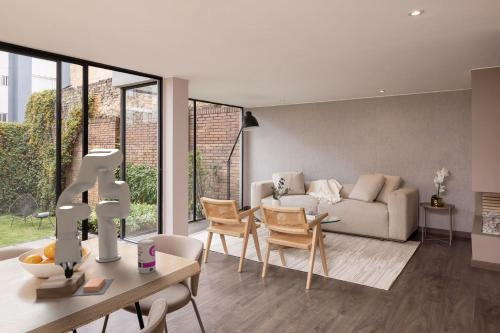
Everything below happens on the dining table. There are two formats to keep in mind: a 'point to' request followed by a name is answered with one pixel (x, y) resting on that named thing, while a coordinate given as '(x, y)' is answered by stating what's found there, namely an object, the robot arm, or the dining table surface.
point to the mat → (101, 291)
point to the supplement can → (146, 256)
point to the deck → (60, 285)
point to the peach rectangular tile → (94, 284)
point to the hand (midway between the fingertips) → (69, 277)
